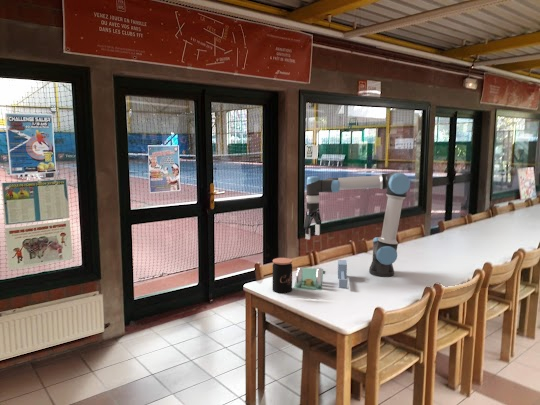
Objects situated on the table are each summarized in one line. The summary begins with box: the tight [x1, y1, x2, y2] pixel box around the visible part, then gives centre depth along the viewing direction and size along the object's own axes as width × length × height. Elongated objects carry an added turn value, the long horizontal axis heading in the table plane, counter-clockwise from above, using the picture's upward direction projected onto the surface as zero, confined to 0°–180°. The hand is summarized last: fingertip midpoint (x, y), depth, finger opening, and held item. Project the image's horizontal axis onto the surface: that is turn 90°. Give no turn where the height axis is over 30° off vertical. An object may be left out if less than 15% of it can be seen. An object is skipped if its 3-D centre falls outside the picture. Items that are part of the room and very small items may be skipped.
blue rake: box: [337, 259, 348, 289], centre depth 244 cm, size 5×26×10 cm, turn 172°
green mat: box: [293, 267, 324, 291], centre depth 248 cm, size 16×40×1 cm, turn 172°
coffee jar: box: [272, 257, 293, 294], centre depth 226 cm, size 11×11×18 cm
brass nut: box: [304, 279, 314, 287], centre depth 236 cm, size 5×4×3 cm
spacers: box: [295, 266, 323, 289], centre depth 236 cm, size 14×13×8 cm
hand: (312, 237), depth 252 cm, fingers open, 13 cm apart
